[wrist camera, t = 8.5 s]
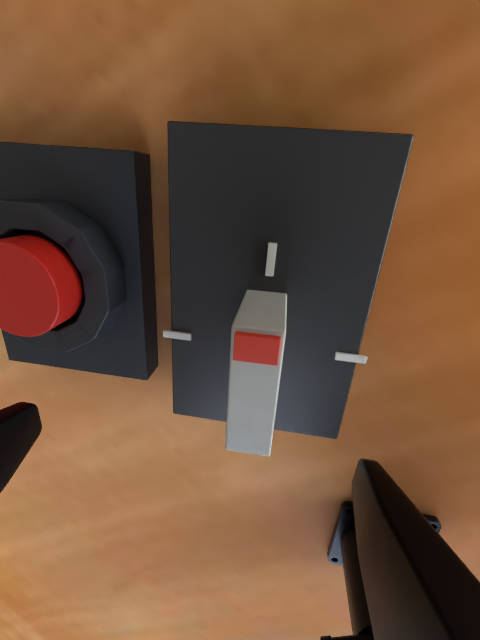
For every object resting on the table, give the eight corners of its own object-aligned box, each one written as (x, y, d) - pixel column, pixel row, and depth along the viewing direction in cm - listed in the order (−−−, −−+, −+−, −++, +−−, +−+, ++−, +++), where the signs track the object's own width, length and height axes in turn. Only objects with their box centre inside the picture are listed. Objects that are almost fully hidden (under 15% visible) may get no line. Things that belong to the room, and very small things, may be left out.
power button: (88, 327, 16) (65, 343, 14) (9, 317, 16) (-21, 331, 15) (76, 239, 14) (49, 245, 12) (-12, 230, 14) (-49, 235, 13)
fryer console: (336, 405, 19) (344, 443, 16) (183, 382, 20) (165, 414, 17) (398, 145, 14) (427, 133, 11) (182, 132, 15) (156, 118, 12)
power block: (158, 365, 20) (133, 399, 17) (29, 347, 21) (-17, 376, 18) (149, 154, 15) (112, 145, 12) (-17, 143, 16) (-93, 132, 13)
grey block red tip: (274, 395, 16) (269, 462, 12) (239, 390, 16) (223, 455, 12) (287, 292, 14) (286, 334, 10) (246, 288, 14) (230, 327, 10)
